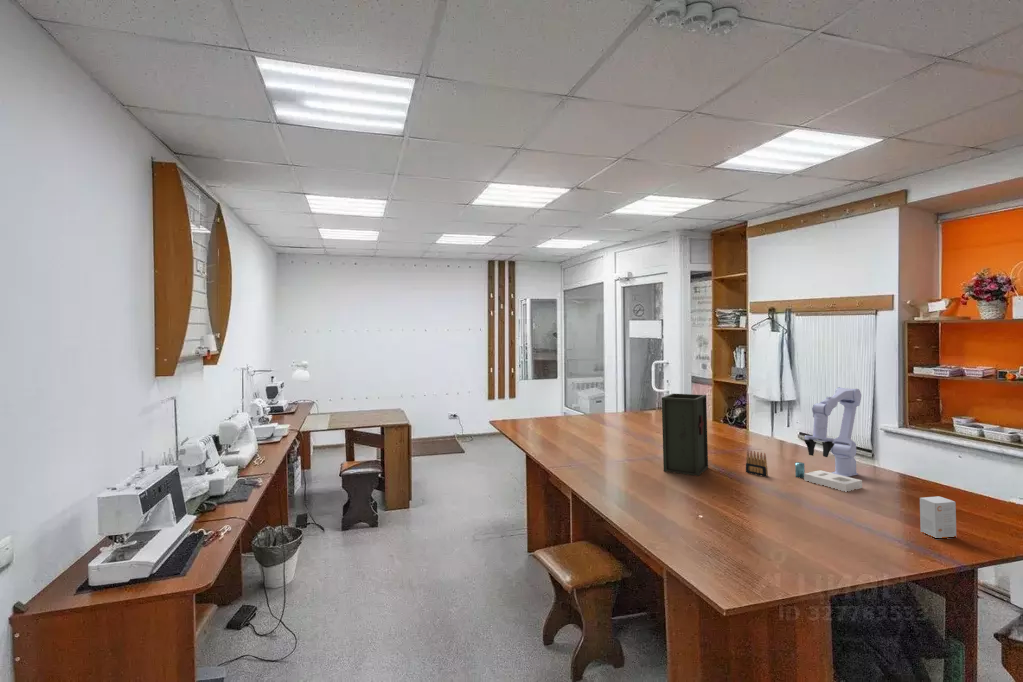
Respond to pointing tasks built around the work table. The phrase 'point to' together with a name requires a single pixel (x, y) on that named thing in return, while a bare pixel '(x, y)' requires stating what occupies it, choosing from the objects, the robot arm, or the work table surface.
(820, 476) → the bore block
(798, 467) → the teal cylinder
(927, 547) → the work table surface
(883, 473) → the work table surface
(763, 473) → the ammunition clip
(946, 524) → the small box
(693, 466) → the dark green bin
